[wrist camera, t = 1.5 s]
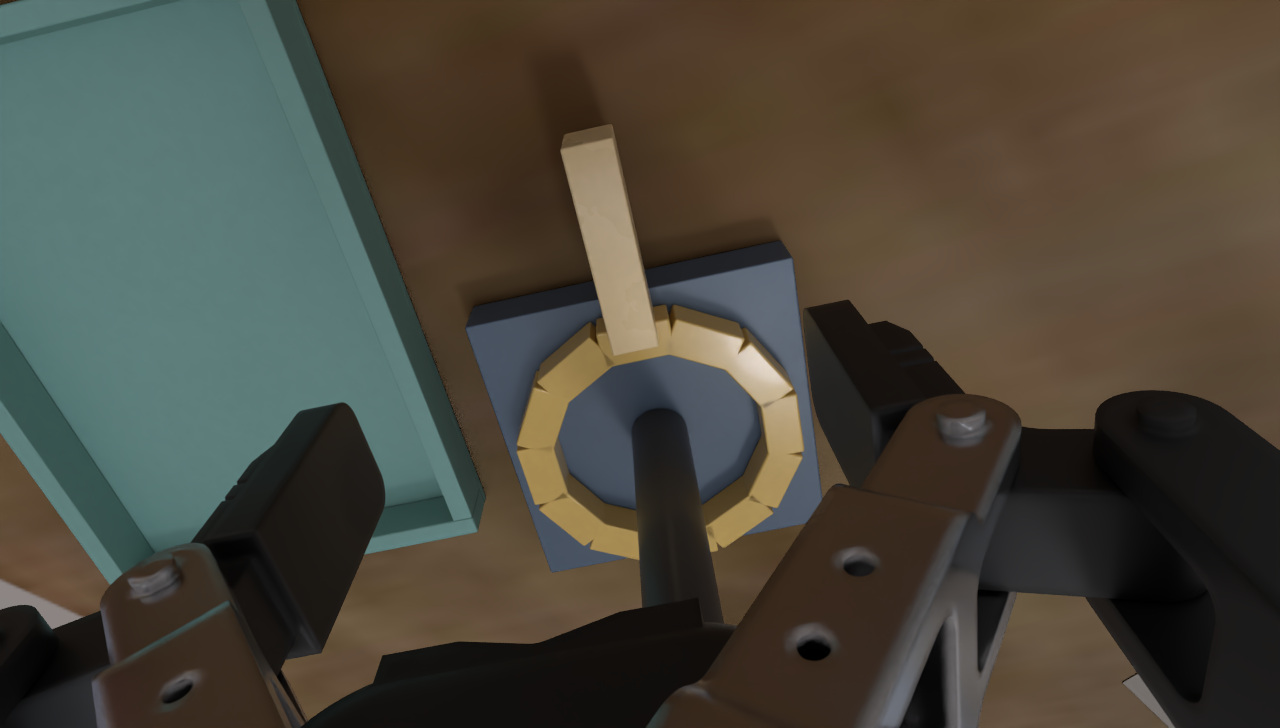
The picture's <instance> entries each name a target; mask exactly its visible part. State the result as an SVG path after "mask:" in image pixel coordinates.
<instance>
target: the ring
mask: <svg viewBox="0 0 1280 728" xmlns="http://www.w3.org/2000/svg"><path fill="white" fill-rule="evenodd" d="M560 152H561V156H562V159H563V163H564V167H565V171H566V175H567V179H568V183H569V187H570V191H571V195H572V198H573V202H574V206H575V210H576V214H577V218H578V222H579V226H580V230H581V233H582V237H583V241H584V245H585V249H586V253H587V257H588V261H589V265H590V269H591V272H592V276H593V280H594V284H595V288H596V292H597V296H598V300H599V304H600V307H601V311H602V315H603V318H598V319H597V320H596V327H595V326H594V325H593V324H592V323H591V322H589V323H588V324H586V325H585V326H584V327H583V328H582V329H581V330H579V331H578V332H577V333H576V334H575V335H574V336H573V337H571V338H570V339H569V340H568V341H567V342H566V343H564V344H563V345H562V346H561V347H560V348H559V349H557V350H556V351H555V352H554V353H553V354H552V355H551V356H549V357H548V358H547V359H546V360H545V361H544V362H542V363H541V364H540V368H539V371H536V372H535V376H534V379H533V383H532V386H531V389H530V393H529V396H528V399H527V403H526V406H525V410H524V413H523V416H522V420H521V423H520V427H519V432H518V438H517V445H518V446H517V455H518V458H519V460H520V463H521V466H522V469H523V472H524V475H525V478H526V481H527V483H528V486H529V489H530V492H531V495H532V498H533V501H534V504H535V505H538V504H539V510H540V511H541V512H542V513H543V514H545V515H546V516H547V517H548V518H550V519H551V520H552V521H553V522H555V523H556V524H557V525H558V526H560V527H561V528H562V529H563V530H565V531H566V532H567V533H568V534H570V535H571V536H572V537H573V538H575V539H576V540H577V541H578V542H580V543H581V544H582V545H583V546H585V545H587V544H588V543H589V542H590V549H591V550H596V551H600V552H605V553H609V554H614V555H618V556H623V557H627V558H632V559H636V560H639V545H638V529H637V513H636V510H632V509H627V508H623V507H619V506H615V505H610V504H606V503H604V502H603V501H601V500H600V499H599V498H598V497H597V496H595V495H594V494H593V493H592V492H591V491H590V490H588V489H587V488H586V487H585V486H584V485H582V484H581V483H580V482H579V481H578V480H577V479H575V478H574V477H573V476H572V475H571V474H570V473H569V470H568V467H567V464H566V460H565V457H564V454H563V451H562V448H561V444H560V441H559V438H558V435H559V432H560V429H561V426H562V423H563V420H564V417H565V414H566V411H567V408H568V404H569V402H570V401H571V400H573V399H574V398H575V397H576V396H577V395H579V394H580V393H581V392H582V391H584V390H585V389H586V388H587V387H588V386H590V385H591V384H592V383H593V382H594V381H596V380H597V379H598V378H599V377H600V376H602V375H603V374H604V373H605V372H606V371H608V370H609V369H610V368H611V367H613V366H618V365H623V364H627V363H632V362H637V361H642V360H646V359H651V358H656V357H661V356H666V355H672V356H675V357H679V358H683V359H686V360H690V361H694V362H697V363H701V364H705V365H708V366H712V367H716V368H719V369H723V370H725V371H726V372H727V373H728V374H729V375H730V376H731V377H732V378H733V379H734V380H735V381H736V382H737V383H738V384H739V385H740V386H741V387H742V388H743V389H744V390H745V391H746V392H747V393H748V395H749V396H750V397H751V398H752V399H753V400H754V401H755V402H756V405H757V411H758V417H759V423H760V429H761V437H760V440H759V442H758V444H757V446H756V448H755V450H754V452H753V455H752V457H751V459H750V461H749V463H748V465H747V468H746V470H745V472H744V474H743V476H741V477H740V478H739V479H737V480H736V481H735V482H733V483H732V484H730V485H729V486H728V487H726V488H725V489H724V490H722V491H721V492H720V493H718V494H717V495H715V496H714V497H713V498H711V499H710V500H709V501H707V502H706V503H704V504H703V505H702V509H703V515H704V520H705V525H706V531H707V536H708V541H709V547H710V552H714V551H718V546H717V543H718V544H719V545H720V546H722V547H723V548H725V547H726V546H728V545H729V544H731V543H732V542H733V541H735V540H736V539H738V538H739V537H741V536H742V535H743V534H745V533H746V532H748V531H749V530H751V529H752V528H753V527H755V526H756V525H758V524H759V523H761V522H762V521H763V520H765V519H766V518H768V517H769V516H771V515H772V514H773V510H772V507H773V508H778V506H779V504H780V502H781V500H782V498H783V496H784V494H785V492H786V490H787V488H788V486H789V484H790V482H791V480H792V478H793V476H794V474H795V472H796V470H797V468H798V466H799V464H800V462H801V460H802V458H803V456H802V453H801V452H803V451H804V442H803V435H802V427H801V420H800V412H799V405H798V397H797V393H796V391H795V389H794V387H793V385H792V383H791V380H790V378H789V376H788V374H787V372H786V370H785V369H784V368H783V367H782V366H781V365H780V364H779V363H778V362H777V361H776V360H775V358H774V357H773V356H772V355H771V354H770V353H769V352H768V351H767V350H766V349H765V348H764V347H763V346H762V344H761V343H760V342H759V341H758V340H757V339H756V338H755V337H754V336H753V335H752V334H751V333H750V331H749V330H748V329H747V328H745V327H744V328H742V329H741V328H740V325H739V323H737V322H733V321H730V320H726V319H723V318H719V317H716V316H712V315H709V314H706V313H702V312H699V311H695V310H692V309H688V308H685V307H681V306H678V305H672V307H671V310H670V313H669V315H668V310H667V306H666V305H659V306H655V307H653V306H652V302H651V297H650V293H649V288H648V284H647V279H646V275H645V270H644V266H643V261H642V257H641V252H640V248H639V243H638V239H637V234H636V230H635V225H634V221H633V216H632V212H631V207H630V202H629V198H628V193H627V189H626V184H625V180H624V175H623V171H622V166H621V162H620V157H619V153H618V148H617V144H616V139H615V135H614V130H613V126H612V124H608V125H603V126H599V127H595V128H590V129H586V130H581V131H577V132H573V133H568V134H565V135H564V138H563V142H562V146H561V150H560Z"/></svg>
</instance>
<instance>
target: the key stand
mask: <svg viewBox="0 0 1280 728" xmlns="http://www.w3.org/2000/svg"><path fill="white" fill-rule="evenodd" d="M645 275H646V279H647V284H648V288H649V293H650V297H651V302H652V306H653V307H655V306H659V305H666V306H667V310H668V315H669V313H670V310H671V307H672V305H678V306H681V307H685V308H688V309H692V310H695V311H699V312H702V313H706V314H709V315H712V316H716V317H719V318H723V319H726V320H730V321H733V322H737V323H739V325H740V328H741V329H742V328H744V327H745V328H747V329H748V330H749V331H750V333H751V334H752V335H753V336H754V337H755V338H756V339H757V340H758V341H759V342H760V343H761V344H762V346H763V347H764V348H765V349H766V350H767V351H768V352H769V353H770V354H771V355H772V356H773V357H774V358H775V360H776V361H777V362H778V363H779V364H780V365H781V366H782V367H783V368H784V369H785V370H786V372H787V374H788V376H789V378H790V380H791V383H792V385H793V387H794V389H795V391H796V393H797V397H798V405H799V412H800V420H801V427H802V435H803V442H804V451H803V452H801V453H802V456H803V458H802V460H801V462H800V464H799V466H798V468H797V470H796V472H795V474H794V476H793V478H792V480H791V482H790V484H789V486H788V488H787V490H786V492H785V494H784V496H783V498H782V500H781V502H780V504H779V506H778V508H773V507H772V510H773V514H772V515H771V516H769V517H768V518H766V519H765V520H763V521H762V522H761V523H759V524H758V525H756V526H755V527H753V528H752V529H751V530H749V531H748V532H746V533H745V534H743V535H748V534H754V533H759V532H764V531H769V530H774V529H779V528H785V527H790V526H795V525H800V524H805V523H807V521H808V520H809V518H810V517H811V515H812V514H813V512H814V511H815V509H816V508H817V506H818V505H819V503H820V502H821V500H822V491H821V483H820V475H819V466H818V458H817V450H816V442H815V434H814V426H813V418H812V410H811V401H810V393H809V385H808V377H807V369H806V361H805V353H804V345H803V336H802V328H801V320H800V312H799V304H798V296H797V288H796V280H795V271H794V263H793V258H792V256H791V255H790V253H789V252H788V250H787V249H786V247H785V246H784V244H783V243H782V241H775V242H771V243H766V244H762V245H757V246H752V247H748V248H743V249H738V250H734V251H729V252H725V253H720V254H715V255H711V256H706V257H701V258H697V259H692V260H687V261H683V262H678V263H674V264H669V265H664V266H660V267H655V268H650V269H646V270H645ZM598 318H603V315H602V311H601V307H600V304H599V300H598V296H597V292H596V288H595V284H594V281H590V282H586V283H581V284H576V285H572V286H567V287H563V288H558V289H553V290H549V291H544V292H539V293H535V294H530V295H525V296H521V297H516V298H512V299H507V300H502V301H498V302H493V303H488V304H484V305H479V306H475V307H473V309H472V312H471V314H470V317H469V319H468V322H467V324H466V327H465V329H466V332H467V335H468V338H469V341H470V344H471V346H472V349H473V352H474V355H475V358H476V361H477V363H478V366H479V369H480V372H481V375H482V378H483V380H484V383H485V386H486V389H487V392H488V395H489V397H490V400H491V403H492V406H493V409H494V412H495V414H496V417H497V420H498V423H499V426H500V429H501V431H502V434H503V437H504V440H505V443H506V446H507V448H508V451H509V454H510V457H511V460H512V463H513V465H514V468H515V471H516V474H517V477H518V480H519V482H520V485H521V488H522V491H523V494H524V497H525V499H526V502H527V505H528V508H529V511H530V514H531V516H532V519H533V522H534V525H535V528H536V531H537V533H538V536H539V539H540V542H541V545H542V548H543V550H544V553H545V556H546V559H547V562H548V564H549V567H550V570H551V572H558V571H563V570H568V569H573V568H578V567H583V566H589V565H594V564H599V563H604V562H609V561H614V560H619V559H625V558H627V557H623V556H618V555H614V554H609V553H605V552H600V551H596V550H591V549H590V542H589V543H588V544H587V545H585V546H583V545H582V544H581V543H580V542H578V541H577V540H576V539H575V538H573V537H572V536H571V535H570V534H568V533H567V532H566V531H565V530H563V529H562V528H561V527H560V526H558V525H557V524H556V523H555V522H553V521H552V520H551V519H550V518H548V517H547V516H546V515H545V514H543V513H542V512H541V511H540V510H539V504H538V505H535V504H534V501H533V498H532V495H531V492H530V489H529V486H528V483H527V481H526V478H525V475H524V472H523V469H522V466H521V463H520V460H519V458H518V455H517V446H518V445H517V438H518V432H519V427H520V423H521V420H522V416H523V413H524V410H525V406H526V403H527V399H528V396H529V393H530V389H531V386H532V383H533V379H534V376H535V372H536V371H539V368H540V364H541V363H542V362H544V361H545V360H546V359H547V358H548V357H549V356H551V355H552V354H553V353H554V352H555V351H556V350H557V349H559V348H560V347H561V346H562V345H563V344H564V343H566V342H567V341H568V340H569V339H570V338H571V337H573V336H574V335H575V334H576V333H577V332H578V331H579V330H581V329H582V328H583V327H584V326H585V325H586V324H588V323H589V322H591V323H592V324H593V325H594V326H595V327H596V320H597V319H598ZM760 437H761V429H760V423H759V417H758V411H757V405H756V402H755V401H754V400H753V399H752V398H751V397H750V396H749V395H748V393H747V392H746V391H745V390H744V389H743V388H742V387H741V386H740V385H739V384H738V383H737V382H736V381H735V380H734V379H733V378H732V377H731V376H730V375H729V374H728V373H727V372H726V371H725V370H723V369H719V368H716V367H712V366H708V365H705V364H701V363H697V362H694V361H690V360H686V359H683V358H679V357H675V356H672V355H666V356H661V357H656V358H651V359H646V360H642V361H637V362H632V363H627V364H623V365H618V366H613V367H611V368H610V369H609V370H608V371H606V372H605V373H604V374H603V375H602V376H600V377H599V378H598V379H597V380H596V381H594V382H593V383H592V384H591V385H590V386H588V387H587V388H586V389H585V390H584V391H582V392H581V393H580V394H579V395H577V396H576V397H575V398H574V399H573V400H571V401H570V402H569V404H568V408H567V411H566V414H565V417H564V420H563V423H562V426H561V429H560V432H559V435H558V438H559V441H560V444H561V448H562V451H563V454H564V457H565V460H566V464H567V467H568V470H569V473H570V474H571V475H572V476H573V477H574V478H575V479H577V480H578V481H579V482H580V483H581V484H582V485H584V486H585V487H586V488H587V489H588V490H590V491H591V492H592V493H593V494H594V495H595V496H597V497H598V498H599V499H600V500H601V501H603V502H604V503H606V504H610V505H615V506H619V507H623V508H627V509H632V510H636V513H637V529H638V545H639V561H640V577H641V594H642V608H644V607H649V606H655V605H660V604H666V603H671V602H677V601H682V600H688V599H693V598H698V599H699V603H700V607H701V612H702V616H703V620H704V622H712V623H722V624H724V621H723V616H722V611H721V605H720V600H719V595H718V589H717V584H716V579H715V573H714V568H713V563H712V557H711V552H710V547H709V541H708V536H707V531H706V525H705V520H704V515H703V509H702V505H703V504H704V503H706V502H707V501H709V500H710V499H711V498H713V497H714V496H715V495H717V494H718V493H720V492H721V491H722V490H724V489H725V488H726V487H728V486H729V485H730V484H732V483H733V482H735V481H736V480H737V479H739V478H740V477H741V476H743V474H744V472H745V470H746V468H747V465H748V463H749V461H750V459H751V457H752V455H753V452H754V450H755V448H756V446H757V444H758V442H759V440H760ZM743 535H742V536H743Z"/></svg>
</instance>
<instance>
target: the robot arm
mask: <svg viewBox="0 0 1280 728" xmlns="http://www.w3.org/2000/svg"><path fill="white" fill-rule="evenodd" d="M803 323H804V332H805V340H806V349H807V357H808V366H809V374H810V382H811V390H812V397H813V402H814V406H815V410H816V414H817V417H818V420H819V423H820V425H821V427H822V429H823V431H824V433H825V435H826V438H827V440H828V442H829V444H830V446H831V448H832V450H833V452H834V454H835V456H836V458H837V460H838V462H839V464H840V466H841V468H842V470H843V472H844V474H845V476H846V478H847V480H848V482H849V484H850V486H849V485H844V484H835V485H833V486H832V487H831V488H830V489H829V490H828V492H827V493H826V494H825V496H824V497H823V499H822V500H821V502H820V503H819V505H818V506H817V508H816V509H815V511H814V512H813V514H812V515H811V517H810V518H809V520H808V521H807V523H806V524H805V526H804V527H803V529H802V530H801V532H800V533H799V535H798V536H797V538H796V539H795V541H794V542H793V544H792V545H791V547H790V548H789V550H788V551H787V553H786V554H785V556H784V557H783V559H782V560H781V562H780V563H779V565H778V566H777V568H776V569H775V571H774V572H773V574H772V575H771V577H770V578H769V580H768V581H767V583H766V584H765V586H764V587H763V589H762V590H761V592H760V593H759V595H758V596H757V598H756V599H755V601H754V602H753V604H752V605H751V607H750V608H749V610H748V611H747V613H746V614H745V616H744V617H743V619H742V620H741V622H740V623H739V625H738V626H736V625H729V624H722V623H712V622H704V620H703V616H702V612H701V607H700V603H699V599H698V598H693V599H688V600H682V601H677V602H671V603H666V604H660V605H655V606H649V607H644V608H639V609H633V610H628V611H622V612H618V613H616V614H613V615H610V616H608V617H605V618H603V619H600V620H598V621H595V622H592V623H590V624H587V625H585V626H582V627H579V628H577V629H574V630H572V631H569V632H567V633H564V634H561V635H559V636H556V637H554V638H551V639H549V640H546V641H543V642H540V643H535V644H516V643H486V642H454V643H448V644H443V645H437V646H432V647H427V648H421V649H416V650H410V651H405V652H399V653H394V654H388V655H383V656H382V659H381V662H380V665H379V667H378V670H377V673H376V676H375V679H374V682H373V684H370V685H368V686H365V687H363V688H361V689H359V690H357V691H355V692H353V693H351V694H349V695H347V696H345V697H344V698H342V699H340V700H339V701H337V702H335V703H334V704H332V705H330V706H329V707H327V708H326V709H324V710H323V711H321V712H320V713H318V714H317V715H316V716H314V717H313V718H311V719H310V720H309V721H308V719H307V717H306V715H305V713H304V711H303V709H302V707H301V705H300V703H299V701H298V699H297V697H296V695H295V693H294V691H293V689H292V687H291V685H290V683H289V681H288V680H287V678H286V676H285V675H284V673H283V671H282V670H281V668H282V666H283V664H284V662H285V660H287V659H292V658H297V657H303V656H308V655H314V654H319V653H322V650H323V648H324V646H325V644H326V641H327V639H328V637H329V634H330V632H331V630H332V627H333V625H334V623H335V620H336V618H337V616H338V614H339V611H340V609H341V607H342V604H343V602H344V600H345V597H346V595H347V593H348V591H349V588H350V586H351V584H352V581H353V579H354V577H355V574H356V572H357V570H358V568H359V565H360V563H361V561H362V558H363V556H364V554H365V551H366V549H367V547H368V544H369V542H370V540H371V538H372V535H373V533H374V531H375V528H376V526H377V524H378V521H379V519H380V517H381V515H382V512H383V510H384V506H385V485H384V481H383V477H382V474H381V472H380V470H379V467H378V465H377V463H376V461H375V458H374V456H373V454H372V451H371V449H370V447H369V445H368V442H367V440H366V438H365V436H364V433H363V431H362V429H361V426H360V424H359V422H358V420H357V417H356V415H355V413H354V411H353V410H352V408H351V407H350V406H349V405H348V404H346V403H344V402H340V403H335V404H331V405H326V406H321V407H316V408H311V409H306V410H301V411H299V412H298V413H297V414H296V415H295V417H294V418H293V420H292V421H291V422H290V424H289V425H288V426H287V428H286V429H285V430H284V432H283V433H282V434H281V436H280V437H279V438H278V440H277V441H276V442H275V444H274V445H273V446H271V447H270V448H269V449H267V450H266V451H265V452H264V453H262V454H261V455H260V456H259V457H257V458H256V459H255V460H254V461H252V462H251V463H250V465H249V466H248V467H247V469H246V470H245V471H244V473H243V474H242V475H241V477H240V478H239V479H238V480H237V485H234V486H233V487H232V488H231V490H230V491H229V492H228V494H227V495H226V496H225V501H222V502H221V503H220V504H219V505H218V507H217V508H216V509H215V511H214V512H213V513H212V515H211V516H210V517H209V519H208V520H207V521H206V523H205V524H204V525H203V527H202V528H201V529H200V530H199V532H198V533H197V534H196V536H195V537H194V538H193V540H192V541H191V542H190V543H186V544H181V545H176V546H173V547H170V548H167V549H165V550H162V551H159V552H157V553H155V554H153V555H151V556H149V557H147V558H145V559H144V560H142V561H140V562H139V563H137V564H135V565H134V566H132V567H131V568H130V569H128V570H127V571H125V572H124V573H123V574H122V575H121V576H119V577H118V578H117V579H116V580H115V581H114V582H113V583H112V584H111V585H110V586H109V588H108V589H107V590H106V591H105V593H104V595H103V597H102V599H101V602H100V610H101V611H99V612H96V613H93V614H91V615H88V616H86V617H83V618H80V619H78V620H75V621H73V622H70V623H68V624H65V625H62V626H60V627H57V628H55V629H51V628H50V626H49V625H48V624H47V622H46V621H45V620H44V618H43V617H42V616H41V615H40V613H39V612H38V611H37V609H36V608H35V607H32V606H29V605H18V606H12V607H8V608H5V609H2V610H0V728H978V726H979V718H980V712H981V707H982V703H983V699H984V695H985V692H986V689H987V686H988V683H989V680H990V676H991V673H992V670H993V667H994V664H995V661H996V658H997V655H998V652H999V649H1000V645H1001V642H1002V639H1003V636H1004V633H1005V630H1006V627H1007V624H1008V621H1009V618H1010V615H1011V611H1012V608H1013V605H1014V602H1015V599H1016V595H1017V592H1022V593H1037V594H1052V595H1067V596H1081V597H1086V599H1087V601H1088V602H1089V604H1090V605H1091V607H1092V608H1093V610H1094V611H1095V613H1096V614H1097V615H1098V617H1099V618H1100V620H1101V621H1102V623H1103V624H1104V626H1105V627H1106V628H1107V630H1108V631H1109V633H1110V634H1111V636H1112V637H1113V639H1114V640H1115V641H1116V643H1117V644H1118V646H1119V647H1120V649H1121V650H1122V652H1123V653H1124V654H1125V656H1126V657H1127V659H1128V660H1129V662H1130V663H1131V665H1132V666H1133V667H1134V669H1135V670H1136V672H1137V673H1138V675H1139V676H1140V677H1141V679H1142V680H1143V682H1144V683H1145V685H1146V686H1147V688H1148V689H1149V690H1150V692H1151V693H1152V695H1153V696H1154V698H1155V699H1156V701H1157V702H1158V703H1159V705H1160V706H1161V708H1162V709H1163V711H1164V712H1165V714H1166V715H1167V716H1168V718H1169V719H1170V721H1171V722H1172V724H1173V725H1174V727H1175V728H1280V450H1278V449H1277V448H1276V447H1274V446H1273V445H1272V444H1270V443H1269V442H1268V441H1266V440H1265V439H1264V438H1262V437H1261V436H1260V435H1258V434H1257V433H1256V432H1254V431H1253V430H1252V429H1250V428H1249V427H1248V426H1246V425H1245V424H1244V423H1243V422H1241V421H1240V420H1239V419H1237V418H1236V417H1235V416H1233V415H1232V414H1231V413H1229V412H1228V411H1227V410H1225V409H1223V408H1222V407H1220V406H1219V405H1216V404H1214V403H1212V402H1210V401H1208V400H1205V399H1202V398H1199V397H1196V396H1192V395H1188V394H1183V393H1178V392H1170V391H1157V390H1148V391H1135V392H1128V393H1123V394H1120V395H1117V396H1114V397H1112V398H1109V399H1107V400H1106V401H1104V402H1103V403H1102V404H1101V405H1100V406H1099V407H1098V409H1097V411H1096V414H1095V427H1094V429H1036V428H1027V427H1021V426H1022V425H1021V420H1020V418H1019V416H1018V414H1017V413H1016V412H1015V411H1014V410H1013V409H1012V408H1010V407H1009V406H1008V405H1006V404H1004V403H1002V402H1000V401H997V400H995V399H992V398H988V397H984V396H979V395H971V394H965V393H964V392H963V390H962V389H961V388H960V387H959V386H958V385H957V384H956V383H955V381H954V380H953V379H952V378H951V377H950V376H949V375H948V374H947V372H946V371H945V370H944V369H943V368H942V367H941V366H940V365H939V363H938V362H937V361H934V359H933V357H932V356H931V354H930V353H929V352H928V351H927V350H926V349H923V346H922V344H921V343H920V342H919V341H918V340H917V339H916V338H915V337H914V335H913V334H912V333H911V332H910V331H908V330H906V329H904V328H901V327H899V326H897V325H894V324H892V323H890V322H887V321H882V322H877V323H872V324H867V322H866V321H865V320H864V318H863V317H862V316H861V315H860V313H859V312H858V311H857V310H856V308H855V307H854V306H853V304H852V303H851V302H850V301H849V300H844V301H839V302H834V303H829V304H824V305H819V306H814V307H809V308H805V309H804V311H803Z"/></svg>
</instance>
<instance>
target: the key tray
mask: <svg viewBox="0 0 1280 728" xmlns="http://www.w3.org/2000/svg"><path fill="white" fill-rule="evenodd" d="M340 402H344V403H346V404H348V405H349V406H350V407H351V408H352V410H353V411H354V413H355V415H356V417H357V420H358V422H359V424H360V426H361V429H362V431H363V433H364V436H365V438H366V440H367V442H368V445H369V447H370V449H371V451H372V454H373V456H374V458H375V461H376V463H377V465H378V467H379V470H380V472H381V474H382V477H383V481H384V485H385V506H384V510H383V512H382V515H381V517H380V519H379V521H378V524H377V526H376V528H375V531H374V533H373V535H372V538H371V540H370V542H369V544H368V547H367V549H366V551H365V554H369V553H374V552H380V551H385V550H390V549H395V548H400V547H405V546H410V545H415V544H420V543H425V542H430V541H435V540H440V539H445V538H450V537H455V536H460V535H465V534H470V533H475V532H477V531H478V528H479V524H480V519H481V515H482V511H483V506H484V502H485V499H486V496H485V493H484V491H483V488H482V485H481V483H480V480H479V477H478V475H477V472H476V470H475V467H474V464H473V462H472V459H471V457H470V454H469V451H468V449H467V446H466V444H465V441H464V438H463V436H462V433H461V430H460V428H459V425H458V423H457V420H456V417H455V415H454V412H453V410H452V407H451V404H450V402H449V399H448V397H447V394H446V391H445V389H444V386H443V383H442V381H441V378H440V376H439V373H438V370H437V368H436V365H435V363H434V360H433V357H432V355H431V352H430V350H429V347H428V344H427V342H426V339H425V336H424V334H423V331H422V329H421V326H420V323H419V321H418V318H417V316H416V313H415V310H414V308H413V305H412V303H411V300H410V297H409V295H408V292H407V289H406V287H405V284H404V282H403V279H402V276H401V274H400V271H399V269H398V266H397V263H396V261H395V258H394V256H393V253H392V250H391V248H390V245H389V242H388V240H387V237H386V235H385V232H384V229H383V227H382V224H381V222H380V219H379V216H378V214H377V211H376V209H375V206H374V203H373V201H372V198H371V195H370V193H369V190H368V188H367V185H366V182H365V180H364V177H363V175H362V172H361V169H360V167H359V164H358V162H357V159H356V156H355V154H354V151H353V148H352V146H351V143H350V141H349V138H348V135H347V133H346V130H345V128H344V125H343V122H342V120H341V117H340V115H339V112H338V109H337V107H336V104H335V101H334V99H333V96H332V94H331V91H330V88H329V86H328V83H327V81H326V78H325V75H324V73H323V70H322V68H321V65H320V62H319V60H318V57H317V54H316V52H315V49H314V47H313V44H312V41H311V39H310V36H309V34H308V31H307V28H306V26H305V23H304V21H303V18H302V15H301V13H300V10H299V7H298V5H297V2H296V0H18V1H14V2H10V3H6V4H2V5H0V433H1V434H2V436H3V437H4V439H5V440H6V441H7V443H8V444H9V446H10V447H11V448H12V450H13V451H14V452H15V454H16V455H17V457H18V458H19V459H20V461H21V462H22V464H23V465H24V466H25V468H26V469H27V470H28V472H29V473H30V475H31V476H32V477H33V479H34V480H35V482H36V483H37V484H38V486H39V487H40V488H41V490H42V491H43V493H44V494H45V495H46V497H47V498H48V500H49V501H50V502H51V504H52V505H53V506H54V508H55V509H56V511H57V512H58V513H59V515H60V516H61V518H62V519H63V520H64V522H65V523H66V524H67V526H68V527H69V529H70V530H71V531H72V533H73V534H74V536H75V537H76V538H77V540H78V541H79V542H80V544H81V545H82V547H83V548H84V549H85V551H86V552H87V554H88V555H89V556H90V558H91V559H92V560H93V562H94V563H95V565H96V566H97V567H98V569H99V570H100V572H101V573H102V574H103V576H104V577H105V578H106V580H107V581H108V583H109V584H110V585H111V584H112V583H113V582H114V581H115V580H116V579H117V578H118V577H119V576H121V575H122V574H123V573H124V572H125V571H127V570H128V569H130V568H131V567H132V566H134V565H135V564H137V563H139V562H140V561H142V560H144V559H145V558H147V557H149V556H151V555H153V554H155V553H157V552H159V551H162V550H165V549H167V548H170V547H173V546H176V545H181V544H186V543H190V542H191V541H192V540H193V538H194V537H195V536H196V534H197V533H198V532H199V530H200V529H201V528H202V527H203V525H204V524H205V523H206V521H207V520H208V519H209V517H210V516H211V515H212V513H213V512H214V511H215V509H216V508H217V507H218V505H219V504H220V503H221V502H222V501H225V496H226V495H227V494H228V492H229V491H230V490H231V488H232V487H233V486H234V485H237V480H238V479H239V478H240V477H241V475H242V474H243V473H244V471H245V470H246V469H247V467H248V466H249V465H250V463H251V462H252V461H254V460H255V459H256V458H257V457H259V456H260V455H261V454H262V453H264V452H265V451H266V450H267V449H269V448H270V447H271V446H273V445H274V444H275V442H276V441H277V440H278V438H279V437H280V436H281V434H282V433H283V432H284V430H285V429H286V428H287V426H288V425H289V424H290V422H291V421H292V420H293V418H294V417H295V415H296V414H297V413H298V412H299V411H301V410H306V409H311V408H316V407H321V406H326V405H331V404H335V403H340Z"/></svg>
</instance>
